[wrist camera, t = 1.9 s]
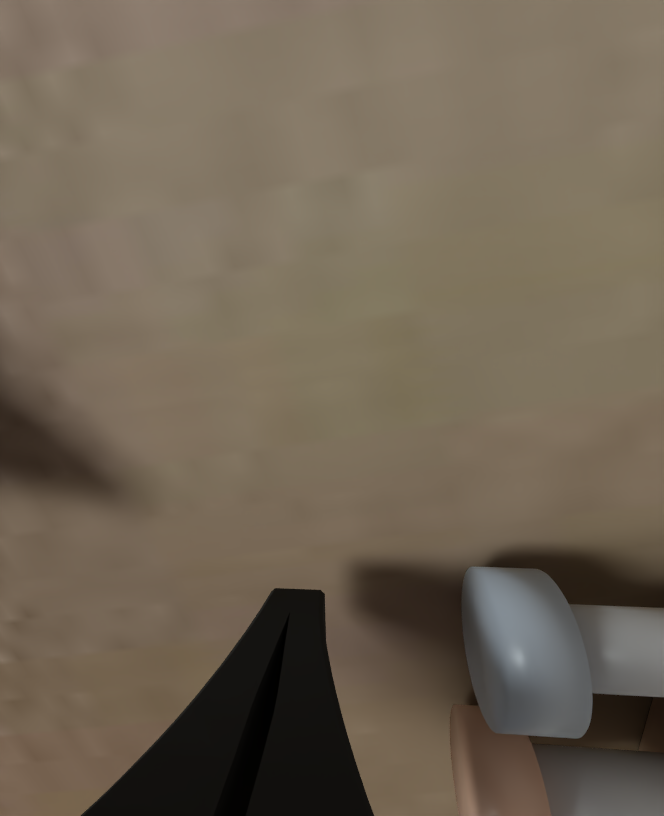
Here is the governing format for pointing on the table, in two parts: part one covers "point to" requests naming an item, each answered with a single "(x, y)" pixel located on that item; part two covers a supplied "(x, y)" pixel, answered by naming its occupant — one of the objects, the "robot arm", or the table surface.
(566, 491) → the table surface
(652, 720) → the mount
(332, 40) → the table surface
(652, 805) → the knob clay
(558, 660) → the knob slate
